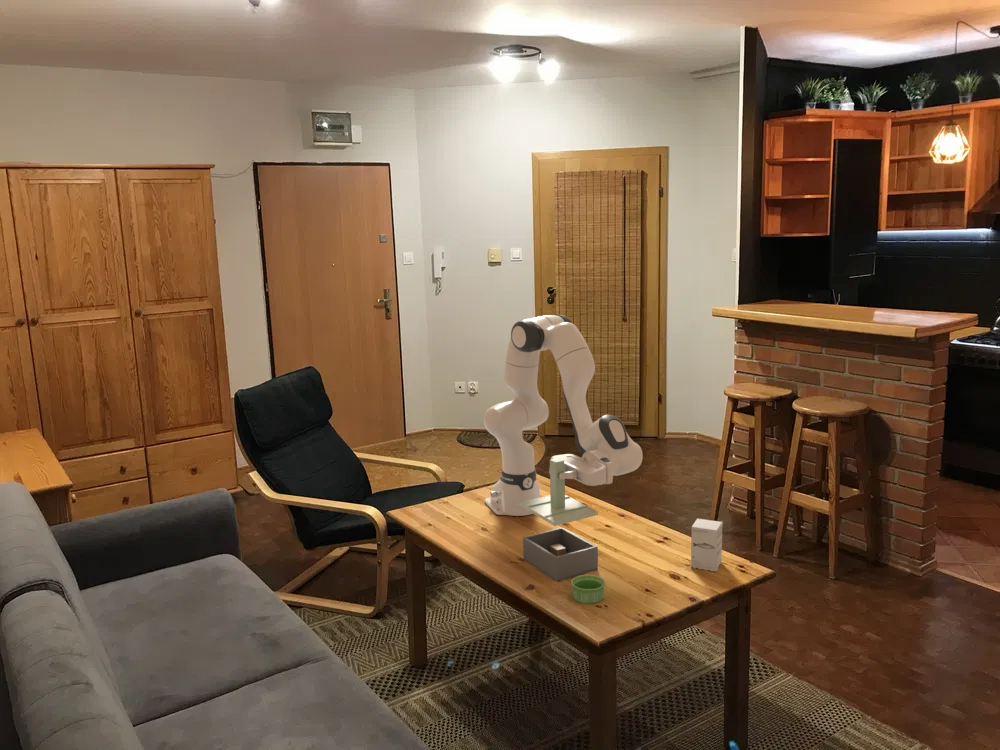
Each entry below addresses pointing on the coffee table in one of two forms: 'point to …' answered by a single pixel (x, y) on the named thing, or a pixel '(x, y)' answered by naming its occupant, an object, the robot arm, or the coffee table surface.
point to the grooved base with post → (558, 501)
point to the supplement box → (706, 544)
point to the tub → (560, 554)
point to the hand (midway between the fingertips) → (554, 474)
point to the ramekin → (588, 588)
